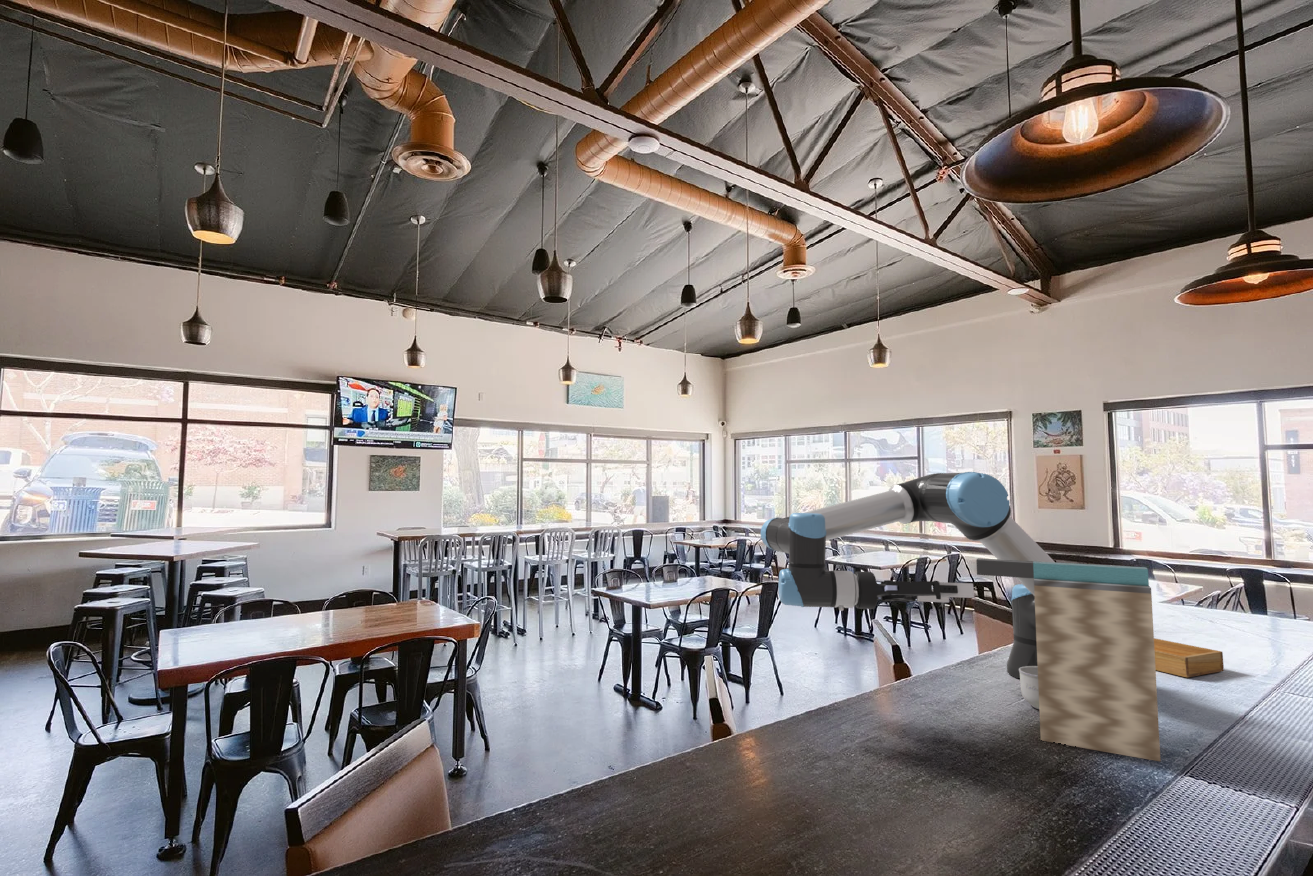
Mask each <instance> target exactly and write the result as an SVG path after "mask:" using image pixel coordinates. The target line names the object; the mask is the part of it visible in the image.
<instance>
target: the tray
mask: <svg viewBox="0 0 1313 876" xmlns="http://www.w3.org/2000/svg"><path fill="white" fill-rule="evenodd" d="M1154 650H1155V668H1156V672H1157V671H1158V672H1163V673H1166V674H1170V675H1174V676H1178V677H1184V678H1192V677H1198V676H1203V675H1208V674H1209V675H1210V674H1214V673H1219V672H1224V670H1225V669H1224V655H1223V654H1224V653H1223V651H1220V650H1216V649H1210V648H1206V647H1200V646H1196V645H1190V644H1185V643H1179V642H1175V641H1169V640H1164V639H1160V638H1155V637H1154Z"/></svg>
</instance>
